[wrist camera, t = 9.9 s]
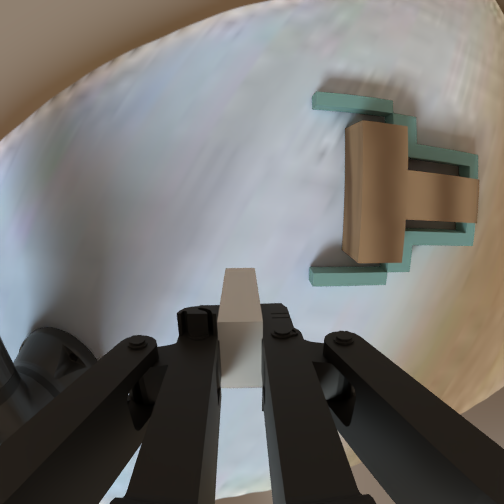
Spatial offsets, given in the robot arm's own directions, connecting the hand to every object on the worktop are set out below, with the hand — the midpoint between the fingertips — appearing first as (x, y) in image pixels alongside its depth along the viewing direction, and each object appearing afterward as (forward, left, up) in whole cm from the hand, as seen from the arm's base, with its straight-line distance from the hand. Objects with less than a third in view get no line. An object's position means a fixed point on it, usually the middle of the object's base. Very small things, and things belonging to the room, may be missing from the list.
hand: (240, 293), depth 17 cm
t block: (+19, +5, -20) cm, 28 cm away
